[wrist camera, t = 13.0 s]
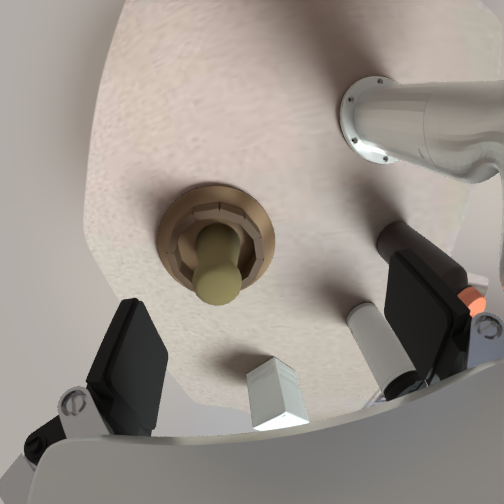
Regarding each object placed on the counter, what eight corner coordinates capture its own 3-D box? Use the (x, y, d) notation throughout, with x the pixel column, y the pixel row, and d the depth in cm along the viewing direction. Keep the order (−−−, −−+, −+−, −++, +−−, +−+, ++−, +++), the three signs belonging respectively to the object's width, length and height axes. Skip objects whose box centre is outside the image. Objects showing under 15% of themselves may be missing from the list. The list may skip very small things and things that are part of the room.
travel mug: (339, 329, 49) (381, 417, 31) (355, 300, 46) (408, 388, 28) (366, 330, 50) (411, 412, 32) (382, 303, 47) (437, 384, 29)
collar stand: (292, 210, 38) (300, 220, 34) (248, 302, 44) (250, 319, 40) (178, 168, 34) (172, 174, 30) (147, 272, 40) (141, 287, 36)
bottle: (390, 213, 39) (479, 282, 21) (416, 231, 41) (497, 297, 23) (368, 250, 42) (442, 333, 24) (395, 264, 44) (465, 341, 26)
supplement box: (244, 373, 52) (250, 428, 40) (274, 355, 50) (286, 411, 39) (268, 387, 55) (277, 438, 43) (296, 371, 53) (310, 422, 42)
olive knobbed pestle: (237, 265, 39) (243, 316, 30) (194, 262, 39) (186, 312, 29) (243, 225, 37) (251, 266, 27) (196, 221, 36) (187, 261, 26)
